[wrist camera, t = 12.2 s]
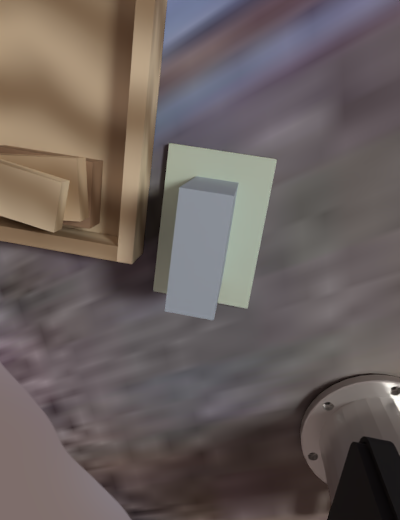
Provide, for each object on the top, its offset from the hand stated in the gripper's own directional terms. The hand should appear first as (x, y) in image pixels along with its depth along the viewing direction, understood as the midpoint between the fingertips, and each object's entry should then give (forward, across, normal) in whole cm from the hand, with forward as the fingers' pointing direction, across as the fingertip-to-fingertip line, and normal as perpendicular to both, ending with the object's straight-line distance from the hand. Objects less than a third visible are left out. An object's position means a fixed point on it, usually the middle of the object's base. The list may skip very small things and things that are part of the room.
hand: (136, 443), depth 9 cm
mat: (+23, +1, 0) cm, 23 cm away
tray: (+22, +14, -7) cm, 27 cm away
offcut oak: (+20, +14, -2) cm, 24 cm away
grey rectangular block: (+22, +1, 0) cm, 22 cm away
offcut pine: (+19, +14, -1) cm, 23 cm away
